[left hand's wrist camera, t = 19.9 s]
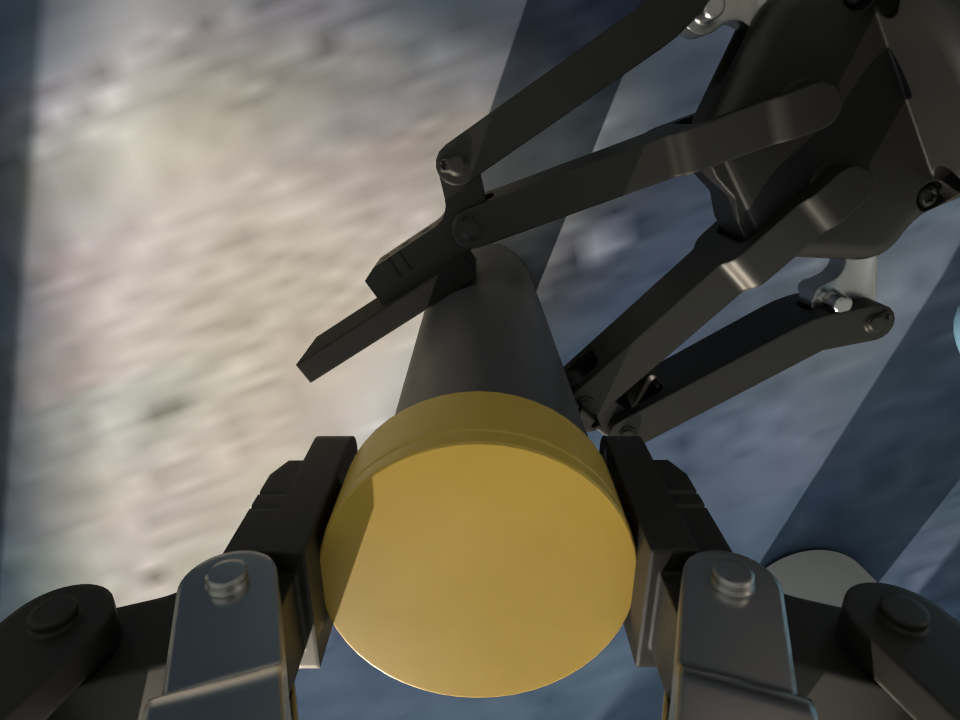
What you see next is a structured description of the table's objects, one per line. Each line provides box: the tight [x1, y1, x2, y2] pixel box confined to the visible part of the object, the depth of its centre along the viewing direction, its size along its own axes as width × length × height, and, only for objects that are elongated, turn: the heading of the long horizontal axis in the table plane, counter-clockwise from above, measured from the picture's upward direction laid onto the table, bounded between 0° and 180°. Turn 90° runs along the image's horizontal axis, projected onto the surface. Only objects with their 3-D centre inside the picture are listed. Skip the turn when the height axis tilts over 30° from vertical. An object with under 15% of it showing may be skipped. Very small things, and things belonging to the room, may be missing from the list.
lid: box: [320, 391, 637, 698], centre depth 10 cm, size 5×5×2 cm
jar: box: [395, 243, 588, 437], centre depth 18 cm, size 4×4×17 cm
